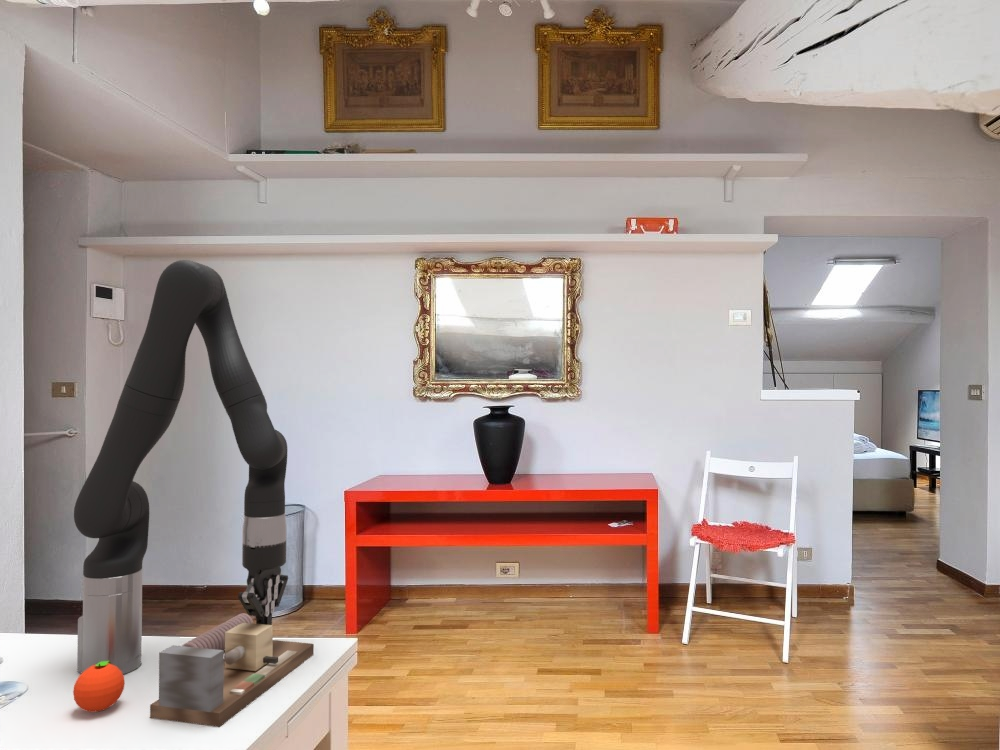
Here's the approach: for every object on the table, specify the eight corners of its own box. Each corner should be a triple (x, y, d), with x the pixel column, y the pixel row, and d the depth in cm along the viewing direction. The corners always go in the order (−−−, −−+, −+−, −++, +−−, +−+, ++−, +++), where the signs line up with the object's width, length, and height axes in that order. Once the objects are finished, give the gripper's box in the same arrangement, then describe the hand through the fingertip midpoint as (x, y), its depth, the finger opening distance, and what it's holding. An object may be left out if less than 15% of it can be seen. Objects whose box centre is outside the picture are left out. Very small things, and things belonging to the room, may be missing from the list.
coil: (199, 646, 120) (257, 614, 137) (176, 641, 121) (237, 610, 138) (196, 672, 120) (255, 636, 137) (174, 667, 121) (235, 632, 138)
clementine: (86, 698, 109) (87, 654, 109) (133, 694, 110) (133, 651, 110) (64, 722, 101) (65, 674, 101) (114, 718, 102) (115, 671, 102)
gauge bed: (150, 717, 102) (150, 651, 103) (256, 648, 130) (257, 596, 130) (219, 726, 100) (219, 658, 100) (313, 654, 127) (313, 601, 127)
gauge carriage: (213, 674, 112) (213, 638, 112) (242, 656, 120) (242, 622, 120) (258, 679, 110) (258, 643, 111) (284, 660, 118) (284, 626, 118)
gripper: (266, 530, 129) (265, 621, 129) (223, 546, 116) (223, 647, 116) (301, 532, 128) (301, 624, 127) (262, 548, 115) (262, 651, 114)
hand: (263, 635), depth 122 cm, fingers closed
